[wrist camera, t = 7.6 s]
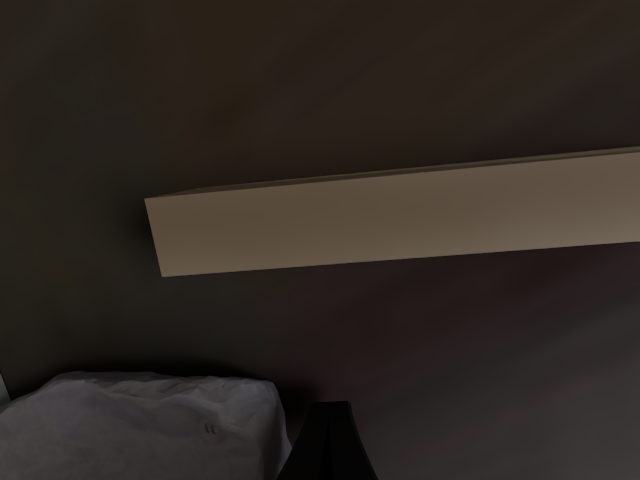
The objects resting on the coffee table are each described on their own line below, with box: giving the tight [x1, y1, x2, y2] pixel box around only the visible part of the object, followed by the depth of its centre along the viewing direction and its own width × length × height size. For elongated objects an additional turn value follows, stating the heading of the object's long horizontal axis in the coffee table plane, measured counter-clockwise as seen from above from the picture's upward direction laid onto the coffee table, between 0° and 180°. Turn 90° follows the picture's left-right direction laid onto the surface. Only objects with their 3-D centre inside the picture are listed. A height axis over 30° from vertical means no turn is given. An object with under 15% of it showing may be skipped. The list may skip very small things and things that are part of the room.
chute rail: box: [145, 146, 640, 277], centre depth 9 cm, size 2×14×3 cm, turn 96°
